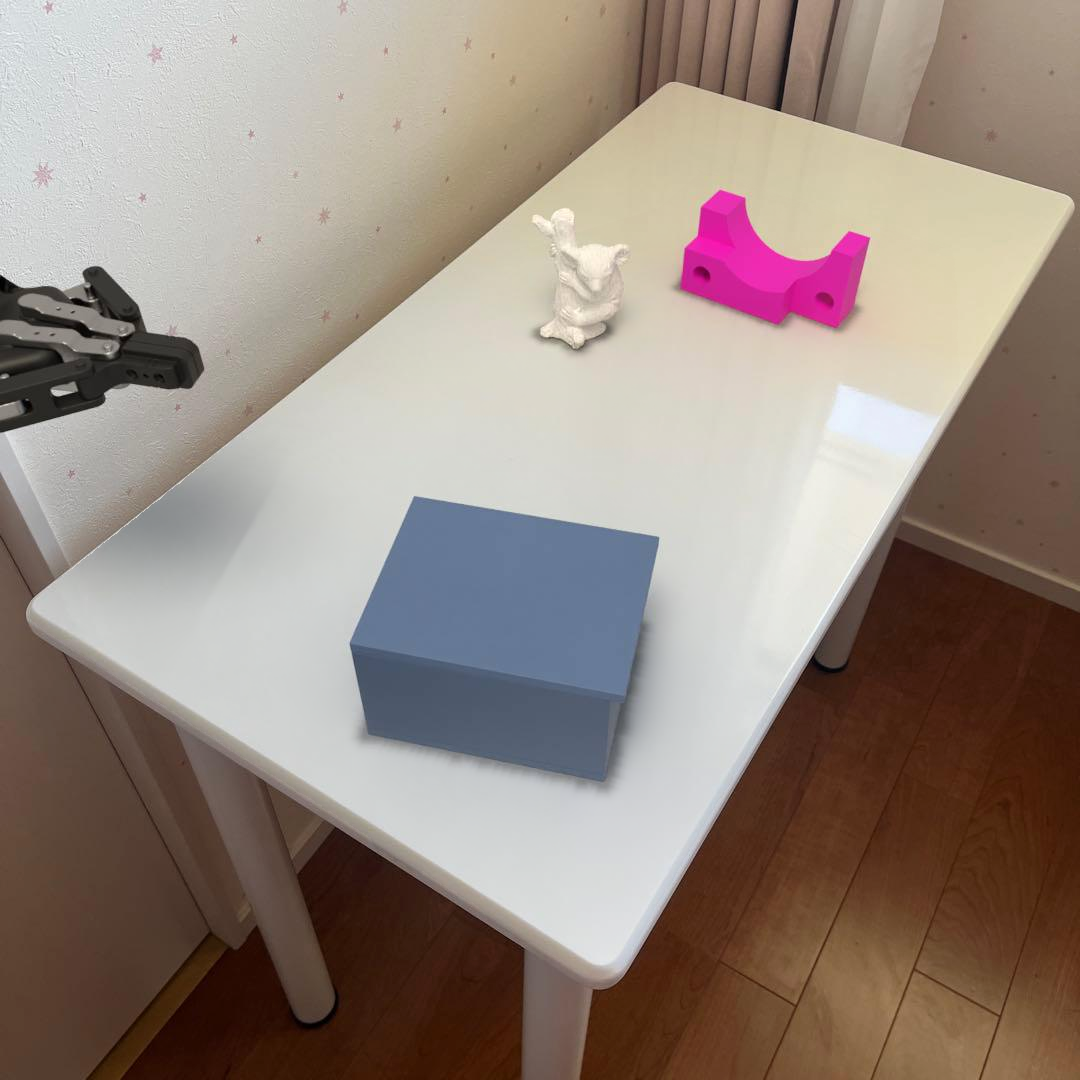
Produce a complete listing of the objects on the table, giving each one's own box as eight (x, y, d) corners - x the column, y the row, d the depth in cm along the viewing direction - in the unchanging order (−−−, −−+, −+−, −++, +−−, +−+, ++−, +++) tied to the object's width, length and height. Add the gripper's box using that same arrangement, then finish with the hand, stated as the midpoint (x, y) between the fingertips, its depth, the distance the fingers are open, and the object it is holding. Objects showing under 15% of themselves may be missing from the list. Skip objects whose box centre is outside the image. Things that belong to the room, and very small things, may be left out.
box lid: (658, 544, 71) (659, 536, 70) (624, 703, 63) (625, 695, 62) (414, 503, 74) (413, 495, 73) (350, 651, 65) (348, 643, 65)
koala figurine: (522, 345, 100) (520, 227, 91) (546, 304, 104) (546, 187, 95) (611, 364, 98) (618, 245, 89) (632, 321, 102) (641, 204, 93)
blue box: (637, 628, 78) (646, 542, 71) (604, 782, 69) (610, 701, 63) (425, 590, 80) (415, 504, 74) (368, 734, 72) (350, 652, 65)
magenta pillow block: (680, 288, 106) (687, 218, 100) (711, 258, 109) (719, 189, 104) (825, 341, 100) (841, 270, 94) (853, 308, 103) (870, 237, 98)
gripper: (2, 313, 70) (257, 350, 67) (-130, 450, 61) (157, 499, 58) (-44, 206, 64) (231, 241, 62) (-197, 339, 56) (117, 387, 53)
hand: (195, 366), depth 60 cm, fingers closed
